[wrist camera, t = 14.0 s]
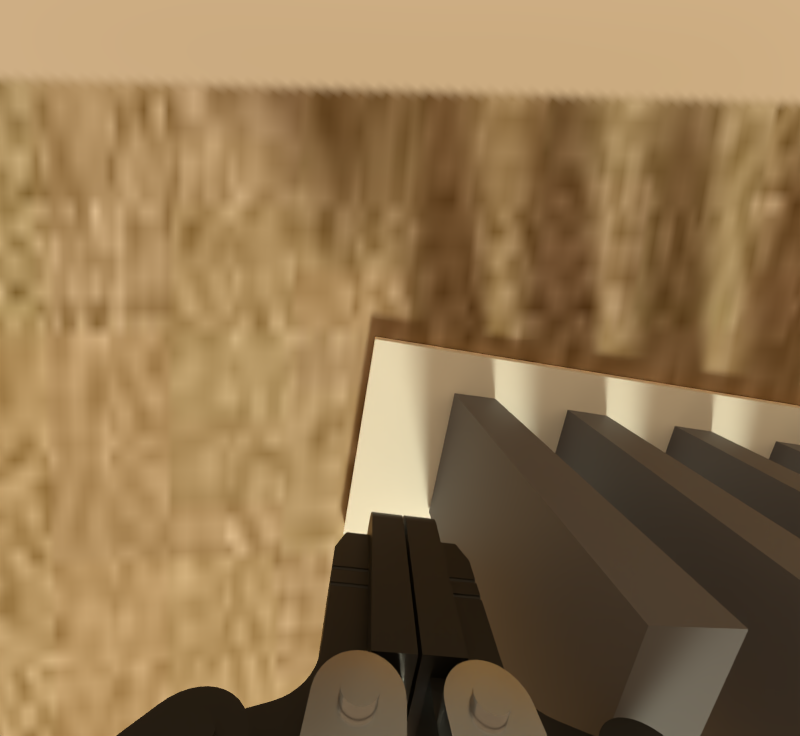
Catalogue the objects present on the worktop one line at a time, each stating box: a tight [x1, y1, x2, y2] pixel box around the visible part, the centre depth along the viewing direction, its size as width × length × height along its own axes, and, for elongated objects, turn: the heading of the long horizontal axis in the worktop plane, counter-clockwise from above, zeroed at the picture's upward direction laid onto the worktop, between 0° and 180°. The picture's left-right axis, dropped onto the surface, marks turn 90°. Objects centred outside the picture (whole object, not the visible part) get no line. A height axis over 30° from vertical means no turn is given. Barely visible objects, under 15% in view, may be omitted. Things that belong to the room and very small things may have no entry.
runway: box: [343, 336, 800, 534], centre depth 17 cm, size 25×8×1 cm, turn 80°
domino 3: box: [555, 410, 800, 736], centre depth 11 cm, size 2×5×10 cm, turn 170°
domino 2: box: [666, 426, 800, 538], centre depth 12 cm, size 2×5×10 cm, turn 170°
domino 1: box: [429, 393, 748, 736], centre depth 11 cm, size 2×5×10 cm, turn 170°
